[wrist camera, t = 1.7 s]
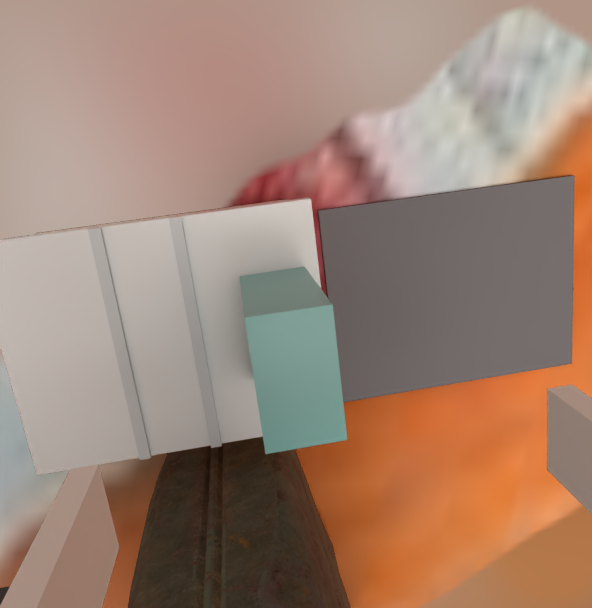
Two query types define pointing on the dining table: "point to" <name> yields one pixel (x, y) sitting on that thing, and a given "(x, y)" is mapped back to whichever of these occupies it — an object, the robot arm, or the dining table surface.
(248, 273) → the lid
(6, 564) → the dining table surface
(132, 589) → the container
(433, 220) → the mat
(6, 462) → the dining table surface
